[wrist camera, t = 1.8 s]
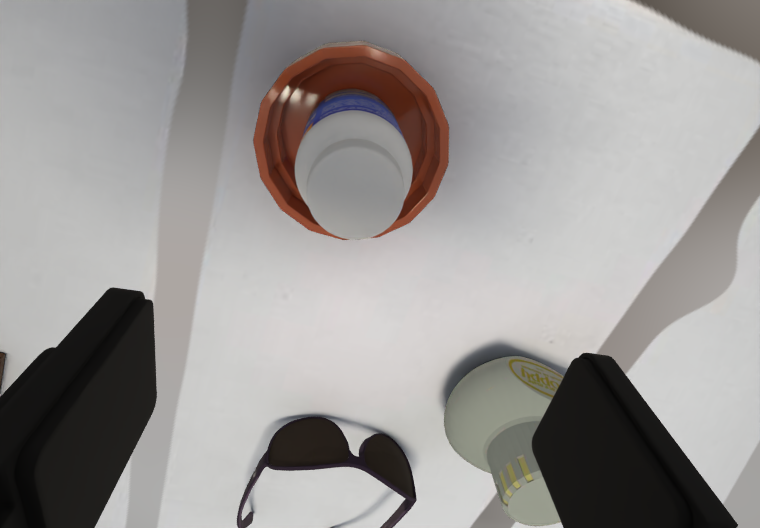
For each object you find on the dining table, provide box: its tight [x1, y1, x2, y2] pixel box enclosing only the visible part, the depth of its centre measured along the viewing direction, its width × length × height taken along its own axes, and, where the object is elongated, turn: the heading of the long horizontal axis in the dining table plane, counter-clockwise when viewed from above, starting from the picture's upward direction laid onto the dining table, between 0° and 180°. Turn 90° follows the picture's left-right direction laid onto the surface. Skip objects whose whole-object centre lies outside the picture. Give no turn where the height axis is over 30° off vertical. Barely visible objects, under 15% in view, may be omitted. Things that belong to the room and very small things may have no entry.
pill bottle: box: [295, 89, 413, 240], centre depth 22 cm, size 5×5×10 cm
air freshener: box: [444, 356, 564, 526], centre depth 34 cm, size 11×8×10 cm
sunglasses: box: [237, 417, 416, 528], centre depth 40 cm, size 14×16×5 cm
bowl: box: [253, 41, 449, 240], centre depth 25 cm, size 10×10×4 cm
